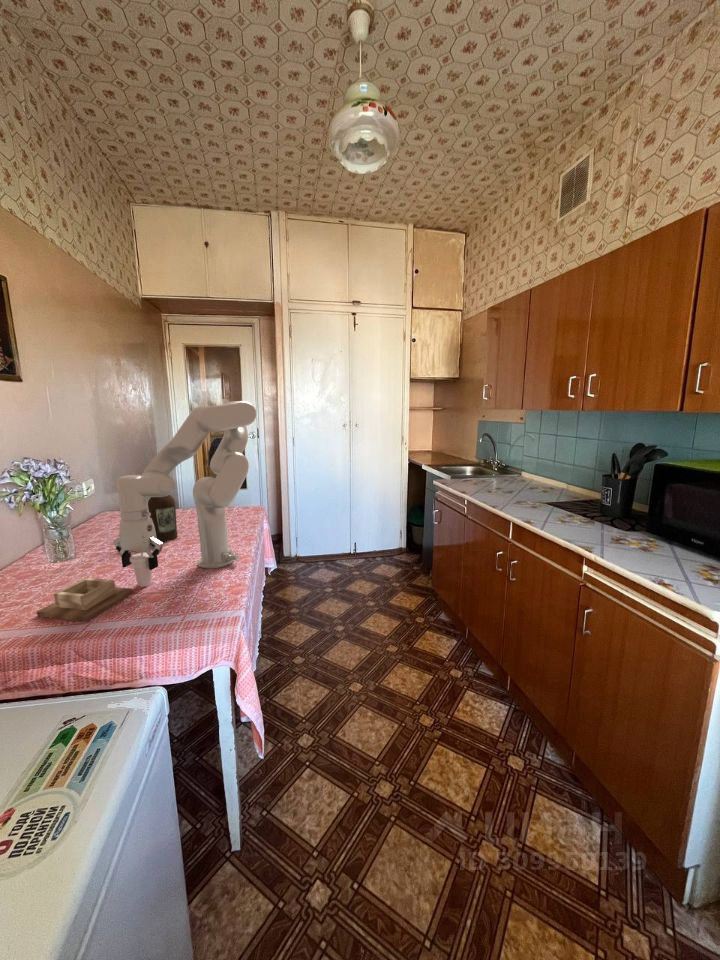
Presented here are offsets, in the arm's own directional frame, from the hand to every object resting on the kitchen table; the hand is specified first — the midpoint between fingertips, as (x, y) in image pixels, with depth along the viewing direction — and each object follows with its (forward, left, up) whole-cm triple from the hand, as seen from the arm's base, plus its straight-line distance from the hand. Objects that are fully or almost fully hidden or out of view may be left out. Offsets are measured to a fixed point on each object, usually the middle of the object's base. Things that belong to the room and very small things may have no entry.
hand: (140, 567), depth 120 cm
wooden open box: (+7, +13, -6) cm, 16 cm away
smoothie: (0, -1, -6) cm, 6 cm away
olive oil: (+24, -41, -6) cm, 47 cm away
